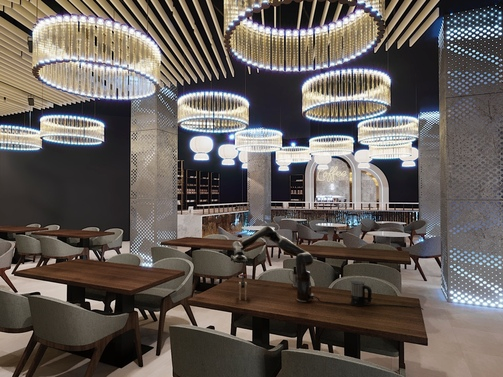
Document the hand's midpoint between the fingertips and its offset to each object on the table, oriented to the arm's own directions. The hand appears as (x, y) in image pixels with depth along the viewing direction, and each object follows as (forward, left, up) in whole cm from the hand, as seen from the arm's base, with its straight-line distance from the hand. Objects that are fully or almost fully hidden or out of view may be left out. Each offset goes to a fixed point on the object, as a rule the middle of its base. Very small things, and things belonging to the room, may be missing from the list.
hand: (240, 261), depth 245 cm
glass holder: (-24, -44, -25) cm, 56 cm away
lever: (-7, +7, -12) cm, 16 cm away
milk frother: (-80, -31, -25) cm, 90 cm away
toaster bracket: (-9, +11, -24) cm, 28 cm away
